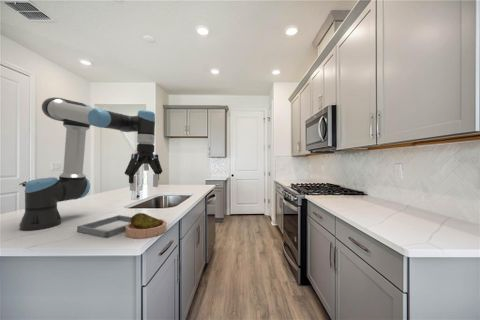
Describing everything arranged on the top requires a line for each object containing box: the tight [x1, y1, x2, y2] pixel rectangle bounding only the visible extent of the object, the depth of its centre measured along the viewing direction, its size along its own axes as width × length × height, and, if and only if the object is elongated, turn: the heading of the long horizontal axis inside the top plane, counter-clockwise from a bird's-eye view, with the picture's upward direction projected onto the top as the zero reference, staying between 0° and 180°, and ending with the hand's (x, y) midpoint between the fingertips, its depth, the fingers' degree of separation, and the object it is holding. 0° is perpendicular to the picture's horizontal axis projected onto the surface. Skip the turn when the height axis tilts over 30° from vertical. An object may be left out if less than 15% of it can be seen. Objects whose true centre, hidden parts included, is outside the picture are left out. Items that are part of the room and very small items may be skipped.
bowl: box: [124, 218, 167, 239], centre depth 98 cm, size 17×17×4 cm
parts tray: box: [76, 214, 132, 239], centre depth 103 cm, size 19×21×2 cm
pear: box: [130, 212, 162, 229], centre depth 98 cm, size 8×13×8 cm, turn 84°
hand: (144, 188), depth 100 cm, fingers open, 13 cm apart
